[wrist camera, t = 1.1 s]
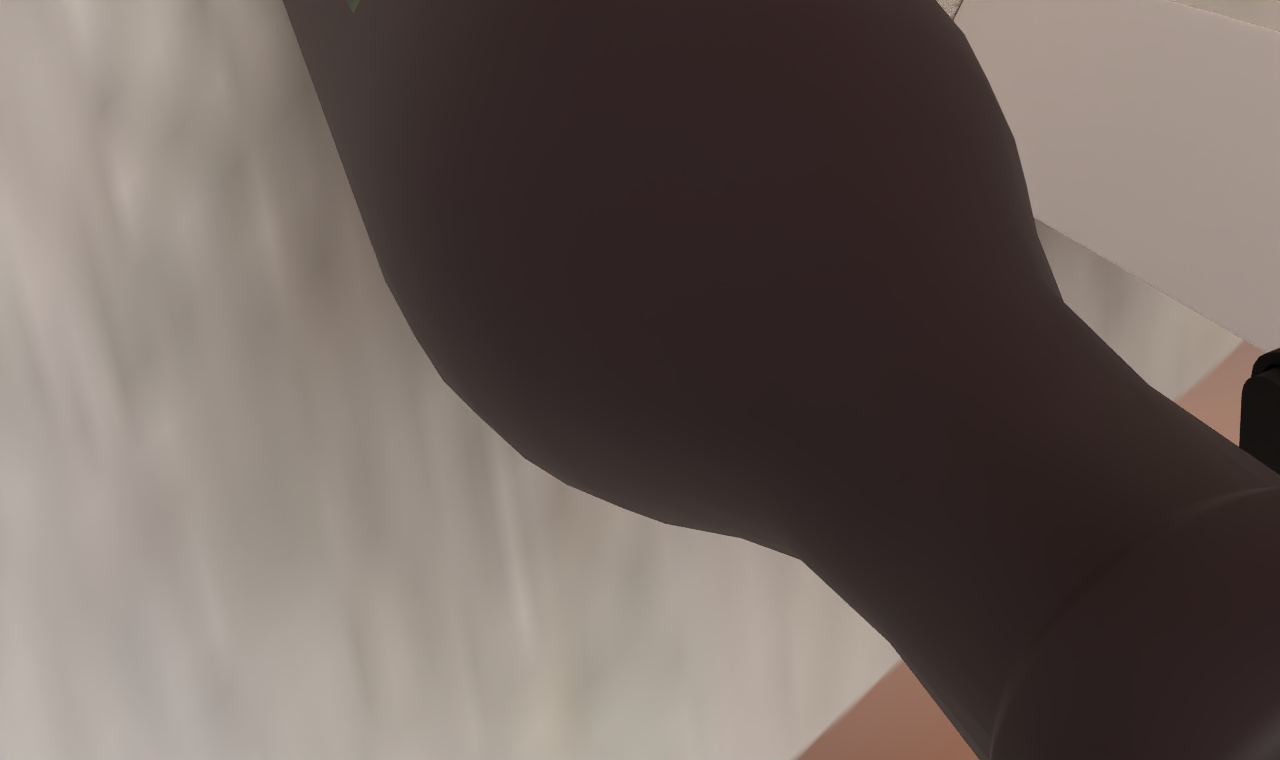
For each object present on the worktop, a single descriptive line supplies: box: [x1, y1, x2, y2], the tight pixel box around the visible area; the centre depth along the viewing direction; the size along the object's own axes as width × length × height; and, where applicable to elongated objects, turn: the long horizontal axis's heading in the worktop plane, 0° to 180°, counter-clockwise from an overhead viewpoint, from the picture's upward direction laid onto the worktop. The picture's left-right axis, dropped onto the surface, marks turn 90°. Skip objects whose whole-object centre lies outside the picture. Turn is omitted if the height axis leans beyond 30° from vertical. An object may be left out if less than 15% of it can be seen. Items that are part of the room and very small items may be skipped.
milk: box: [953, 0, 1280, 353], centre depth 29 cm, size 6×6×22 cm
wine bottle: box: [283, 0, 1280, 760], centre depth 18 cm, size 7×7×30 cm
